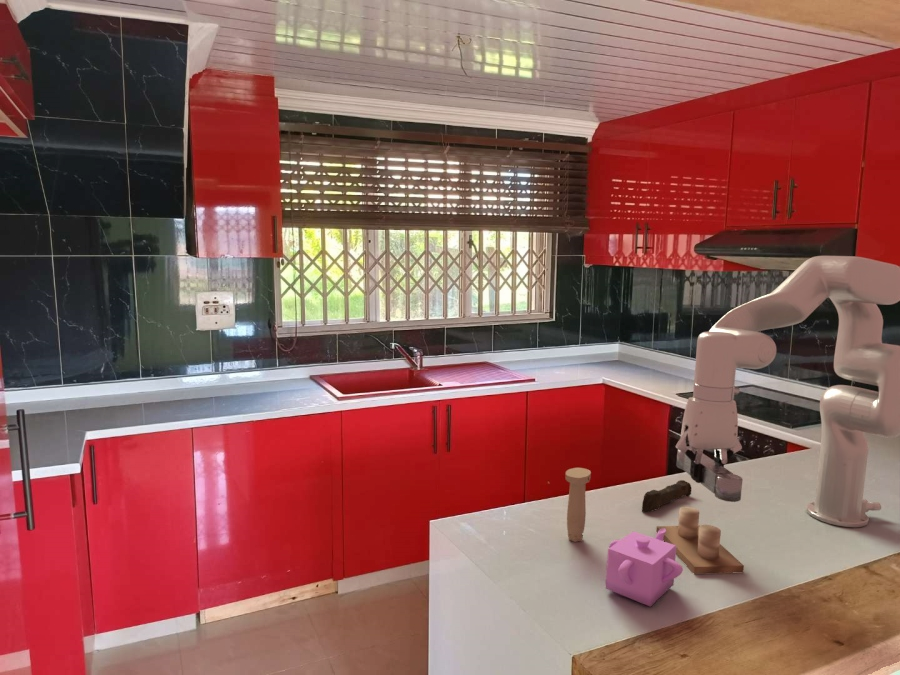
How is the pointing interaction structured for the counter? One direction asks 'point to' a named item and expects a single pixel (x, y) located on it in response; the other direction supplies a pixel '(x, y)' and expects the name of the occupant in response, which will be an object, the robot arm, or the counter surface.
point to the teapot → (642, 567)
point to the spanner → (714, 477)
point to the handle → (576, 502)
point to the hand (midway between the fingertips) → (706, 479)
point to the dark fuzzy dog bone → (665, 495)
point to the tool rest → (700, 545)
